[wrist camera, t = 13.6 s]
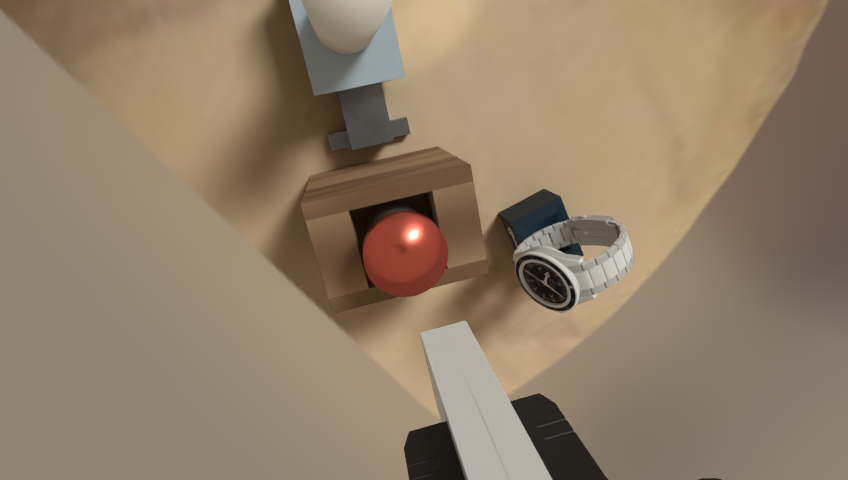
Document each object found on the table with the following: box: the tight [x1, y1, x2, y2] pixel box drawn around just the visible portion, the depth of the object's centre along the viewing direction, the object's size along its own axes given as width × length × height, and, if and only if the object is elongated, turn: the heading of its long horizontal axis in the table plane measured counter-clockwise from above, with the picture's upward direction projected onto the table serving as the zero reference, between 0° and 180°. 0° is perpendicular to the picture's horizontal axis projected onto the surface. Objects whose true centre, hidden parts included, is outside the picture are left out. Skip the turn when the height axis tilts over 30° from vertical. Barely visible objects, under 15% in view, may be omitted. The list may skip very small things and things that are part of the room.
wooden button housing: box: [300, 147, 489, 313], centre depth 33 cm, size 7×10×10 cm
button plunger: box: [362, 200, 448, 297], centre depth 29 cm, size 5×5×6 cm
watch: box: [499, 189, 634, 313], centre depth 35 cm, size 6×8×11 cm
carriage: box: [289, 0, 405, 96], centre depth 26 cm, size 8×6×13 cm
